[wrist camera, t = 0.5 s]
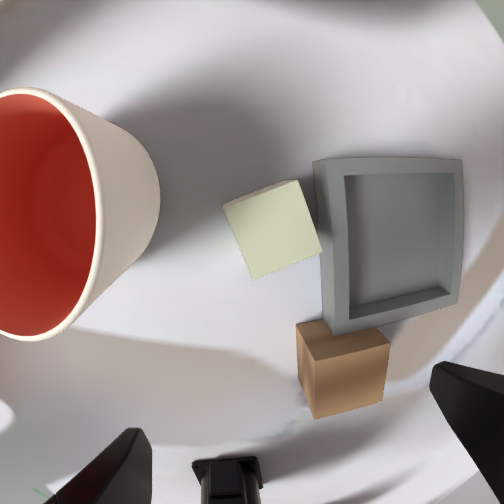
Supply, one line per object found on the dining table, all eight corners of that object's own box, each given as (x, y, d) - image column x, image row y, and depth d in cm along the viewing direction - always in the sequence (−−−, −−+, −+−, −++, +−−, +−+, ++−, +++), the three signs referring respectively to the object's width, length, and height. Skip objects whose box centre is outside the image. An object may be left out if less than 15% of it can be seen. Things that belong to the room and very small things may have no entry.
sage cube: (303, 238, 19) (322, 251, 16) (246, 261, 19) (252, 280, 16) (282, 180, 18) (297, 179, 15) (223, 203, 18) (223, 208, 15)
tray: (439, 292, 22) (457, 303, 19) (322, 319, 21) (334, 336, 18) (440, 160, 19) (461, 159, 16) (312, 162, 18) (325, 159, 16)
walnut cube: (356, 364, 22) (381, 400, 17) (298, 377, 22) (314, 419, 17) (358, 311, 21) (390, 342, 16) (295, 323, 21) (314, 361, 16)
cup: (174, 127, 17) (125, 72, 7) (159, 281, 19) (110, 366, 9) (44, 128, 16) (-53, 106, 6) (37, 264, 18) (-51, 315, 8)
